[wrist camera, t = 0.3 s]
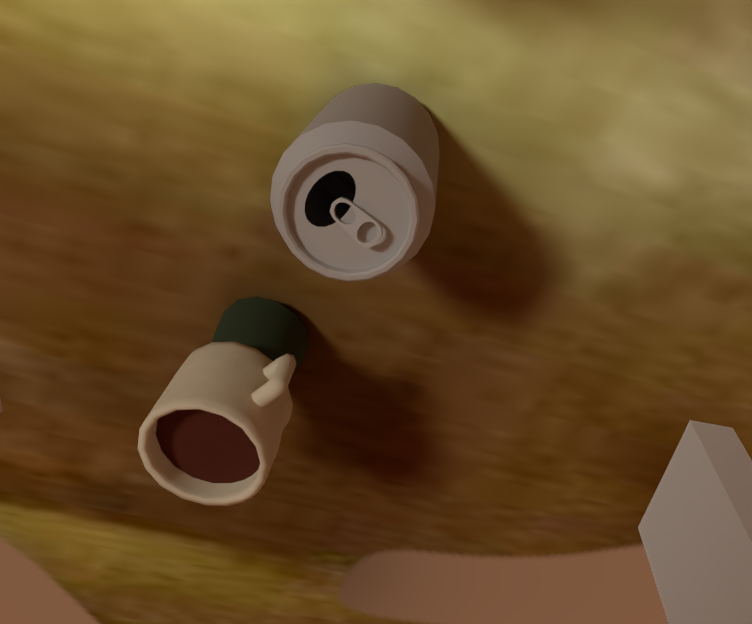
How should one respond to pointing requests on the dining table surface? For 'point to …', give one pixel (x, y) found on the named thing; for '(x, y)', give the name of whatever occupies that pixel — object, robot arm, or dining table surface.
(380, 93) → the can
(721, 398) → the dining table surface
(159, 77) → the dining table surface
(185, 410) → the character mug
